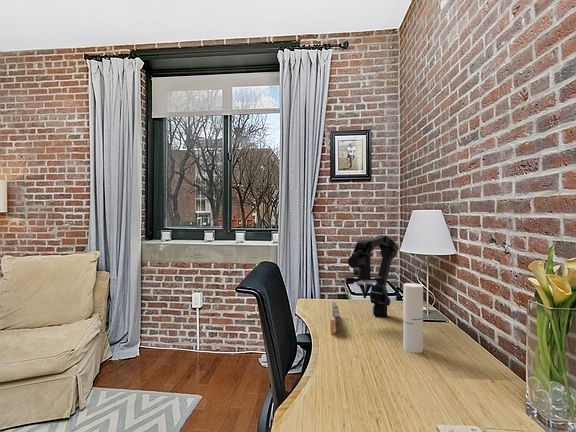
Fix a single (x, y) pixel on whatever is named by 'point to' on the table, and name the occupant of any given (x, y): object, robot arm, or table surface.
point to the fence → (332, 322)
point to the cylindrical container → (413, 317)
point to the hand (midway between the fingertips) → (364, 298)
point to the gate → (337, 319)
